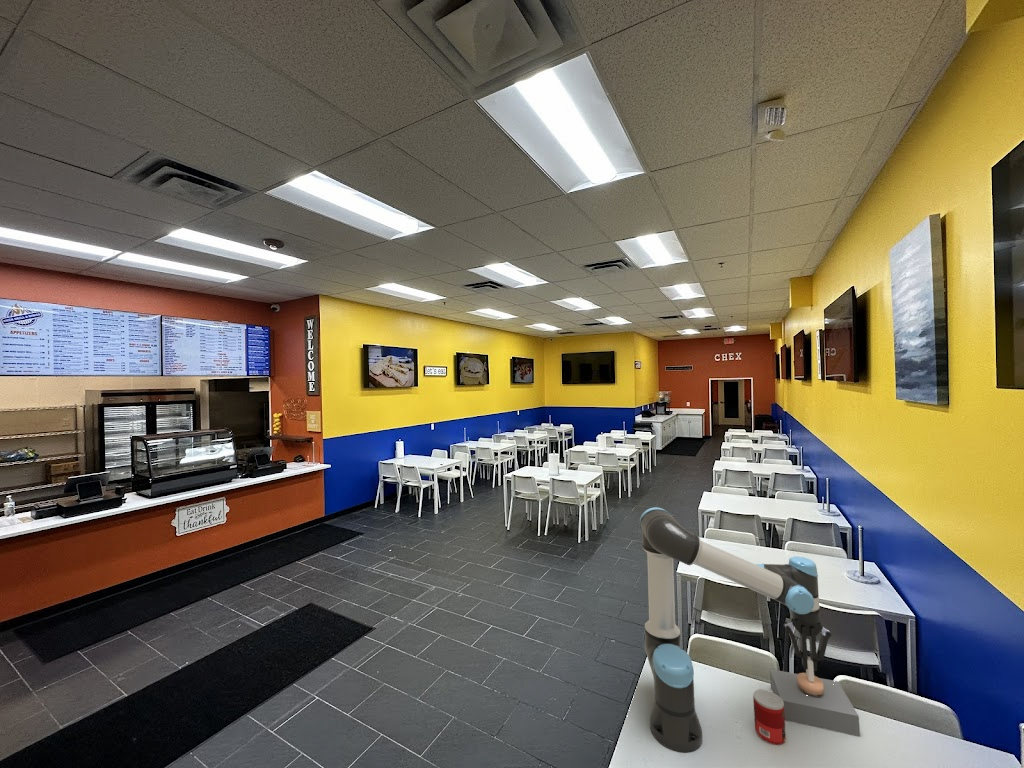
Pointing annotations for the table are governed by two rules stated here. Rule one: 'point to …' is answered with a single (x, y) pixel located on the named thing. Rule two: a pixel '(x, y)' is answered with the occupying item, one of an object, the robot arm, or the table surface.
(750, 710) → the table surface
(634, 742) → the table surface
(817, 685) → the knob
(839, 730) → the control box
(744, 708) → the table surface
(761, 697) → the canned food
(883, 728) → the table surface
